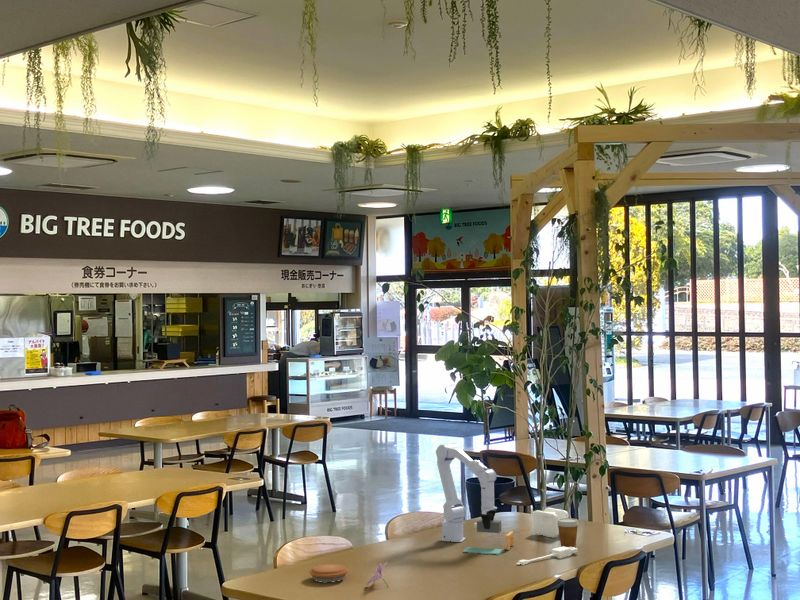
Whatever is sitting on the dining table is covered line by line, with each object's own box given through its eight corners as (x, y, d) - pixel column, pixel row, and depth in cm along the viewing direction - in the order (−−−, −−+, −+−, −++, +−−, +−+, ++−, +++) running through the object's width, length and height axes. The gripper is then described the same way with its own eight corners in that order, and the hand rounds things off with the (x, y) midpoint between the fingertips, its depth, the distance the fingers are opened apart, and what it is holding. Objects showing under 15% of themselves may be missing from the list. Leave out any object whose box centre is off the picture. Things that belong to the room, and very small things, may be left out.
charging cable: (513, 566, 394) (513, 558, 394) (570, 552, 412) (569, 544, 412) (521, 569, 390) (521, 561, 390) (578, 554, 408) (578, 546, 408)
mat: (462, 552, 415) (462, 551, 415) (467, 548, 423) (467, 547, 423) (498, 554, 410) (498, 553, 410) (503, 550, 417) (503, 549, 417)
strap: (505, 549, 419) (505, 535, 419) (510, 544, 427) (510, 531, 427) (509, 549, 418) (509, 535, 418) (513, 545, 426) (513, 531, 426)
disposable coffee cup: (578, 545, 426) (577, 517, 426) (580, 550, 416) (579, 522, 417) (556, 544, 427) (556, 517, 427) (558, 549, 417) (557, 522, 418)
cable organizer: (570, 536, 444) (570, 511, 444) (555, 539, 437) (554, 514, 438) (546, 531, 456) (546, 506, 456) (531, 534, 449) (530, 509, 449)
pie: (328, 572, 386) (328, 560, 386) (356, 578, 376) (356, 565, 376) (300, 580, 374) (300, 567, 374) (329, 587, 364) (329, 573, 364)
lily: (388, 583, 371) (376, 561, 372) (404, 577, 362) (392, 554, 363) (366, 599, 363) (354, 576, 364) (382, 593, 354) (369, 570, 356)
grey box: (473, 531, 426) (473, 521, 426) (476, 529, 430) (475, 519, 430) (498, 533, 422) (498, 522, 422) (501, 531, 426) (501, 520, 426)
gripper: (492, 500, 418) (493, 531, 418) (500, 494, 432) (501, 524, 431) (476, 499, 420) (477, 530, 420) (485, 493, 434) (485, 524, 434)
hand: (488, 527), depth 426 cm, fingers closed on grey box, 5 cm apart
